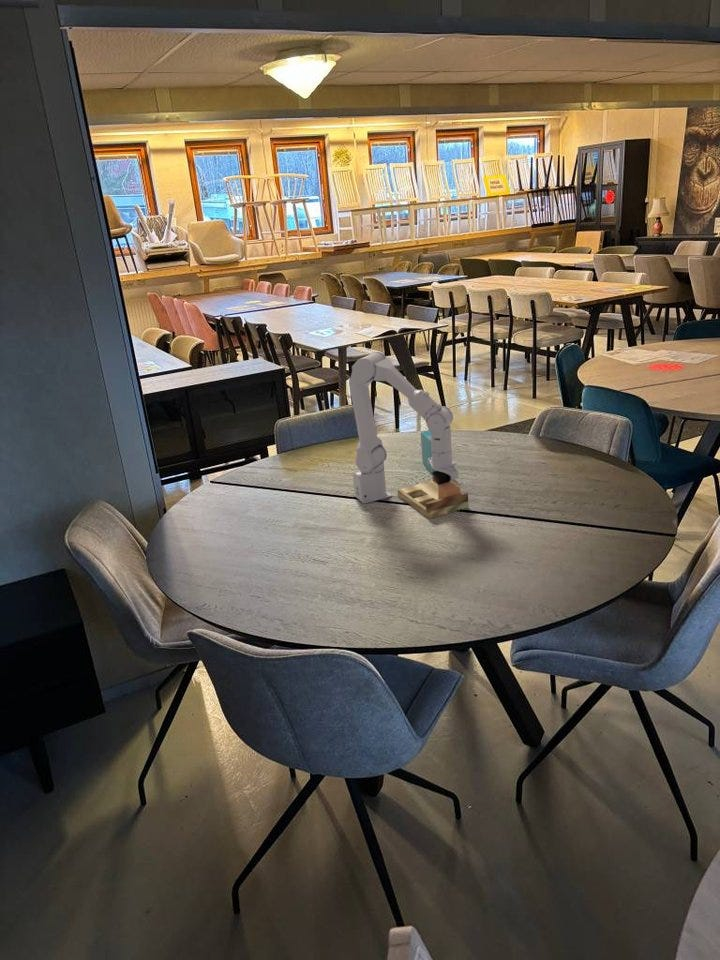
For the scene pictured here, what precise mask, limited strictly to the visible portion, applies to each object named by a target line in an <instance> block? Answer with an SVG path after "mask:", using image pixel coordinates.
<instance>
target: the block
mask: <svg viewBox="0 0 720 960" xmlns="http://www.w3.org/2000/svg"><path fill="white" fill-rule="evenodd" d="M460 492H461V486H459V484H457V483H455V482H454V481H452V480H450V482H447V483H443V484H440V485H438V499H441V498H445V497H449V496H452V495H456V494H460Z"/></svg>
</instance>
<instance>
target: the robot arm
mask: <svg viewBox="0 0 720 960" xmlns="http://www.w3.org/2000/svg"><path fill="white" fill-rule="evenodd" d="M373 381H376V382H386V383H388V384H389V385H391V386H392V387H393V388H395V389H396V390H397V391H399V393H401V394H402V395H403V396H404V397H406V399H407V401H408V406H409V407H410V408H412V409H413V410H414V411H415V412H416V413H417V415H419V416H420V417H421V418H422V419H424V421H426V422H425V423H426V427H427V428H428V431H429V430H430V431H431V448H432V458H428V465H431V467H432V469H433V470H436V471H434V472H432V474H431V475H432V476H434V478H435V480H436V482H437V484H438V485H440V484H443V483H447V482H450V481H452V480H454V479H458V478H460V477H459V471H458V470H457V469H456V467H455V466H456V465H457V463H456V461H453V450H452V449H453V447H452V445H453V444H452V431H451V424H452V423H453V421H454V415H453V413H452V411H451V410H450V408H449V407H448V406H445V405H444V406H442V404H440V403H438V402H436V401H435V400H434V399H433V398H432V396H430V393H429V391H427V390H426V391H425V390H424V389H417V388H416V387H414V385H412V384H411V383H410V381H408V380H407V378H405V376H403V374H402V373H401V372H400V371H399V369H397V368H396V367H395V365H394V364H393V362H392V360H391V359H389V358H388V357H386V355H385V354H384V353H382V352H381V351H373V352H371V353H370V354H368V355H366V356H364V357H361V358H359V359H358V360H356V361H355V362H354V364H352V365H351V374H350V378H349V382H348V383H349V384H348V385H349V391H350V396H351V401H352V407H353V412H354V418H355V423H356V428H357V429H356V431H357V435H358V439H359V440H358V444H357V445H356V446H357V447H356V449H355V452H356V457H355V466H356V467H357V469H358V471H357V472H354V473H353V475H352V480H353V488H354V490H353V491H354V494H353V496H354V497H355V498H357V499H358V501H360V502H361V503H362V504H367V503H372V502H376V501H380V500H384V499H387V498H391V497H392V494H391V493H389V492H388V491H387V485H386V484H387V483H386V474H385V472H386V471H385V464H384V463H385V461H386V460H387V456H388V453H387V450H386V448H385V447H384V445H383V440H382V439H380V437H378V435H377V428H376V424H375V417H374V411H373V406H372V399H371V395H370V388H369V386H370V385H371V383H372V382H373Z"/></svg>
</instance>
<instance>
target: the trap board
mask: <svg viewBox="0 0 720 960" xmlns="http://www.w3.org/2000/svg"><path fill="white" fill-rule="evenodd" d="M431 479H432V480H430V481H427V482H422V483H418V484H414V485H410V486H407V487H403V488H398V489H397V496H398V497H399V498H400V499H402V500H403V501H404V502H406V504H408V505H410V506H411V507H412V508H413V509H415V510H416V511H417V512H419V513H420V514H421V515H423V516H424V517H426V518H427V519H433V518H436V517H438V516H443V515H447V514H451V513H454V511H455V512H457V510H458V511H461V510H460V509H462V510H464V508H466V509H468V507H469V493H468V492H466V491H464V492H462V491H460V494H456V495H452V496H449V497H445V498H441V499H438V484H437V482H436V480H435V478H434V476H433V475H432V478H431Z"/></svg>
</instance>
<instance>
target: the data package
mask: <svg viewBox="0 0 720 960" xmlns="http://www.w3.org/2000/svg"><path fill="white" fill-rule="evenodd" d="M420 444H421V459H422V464H423V466H424V467H425V468H426V469H427V471H428V472H429V473H430V475H432V472H434V471H436V470H433V469H432V467H431V465H428V458H432V448H431V431H430V430H429V429H428V430H424V431H420Z"/></svg>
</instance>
